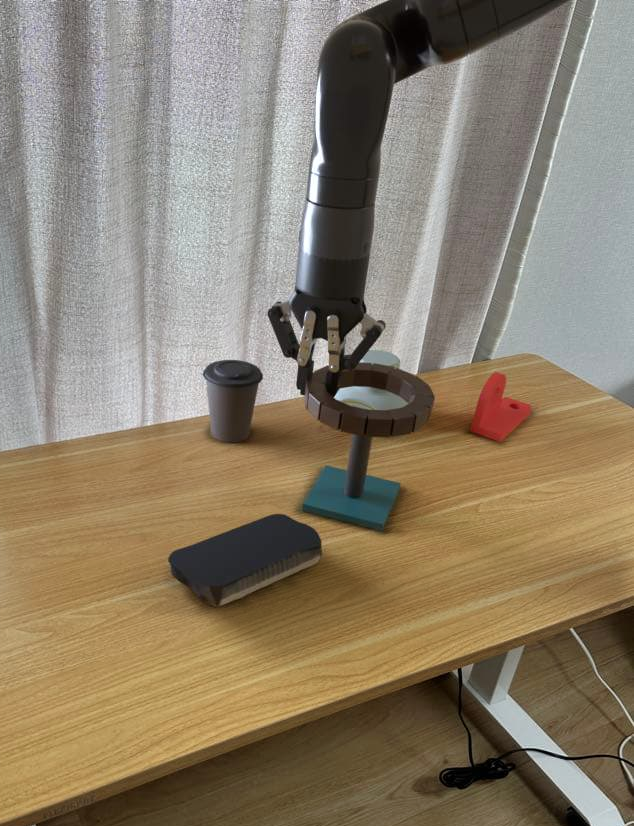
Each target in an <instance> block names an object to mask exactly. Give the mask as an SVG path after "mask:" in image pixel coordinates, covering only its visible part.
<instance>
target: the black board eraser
mask: <svg viewBox="0 0 634 826" xmlns="http://www.w3.org/2000/svg"><path fill="white" fill-rule="evenodd" d="M322 555H323V549H322V538H321V537H320V535H319V533H318V531H317V530H316V529H315V528H314V527H312V526H310V525H309V524H306V523H303V522H300V521H297V520H295V519H293V518H292V517H290V515H287V514H283V513H273V514H270V515H266V516H263V517H262V518H259V519H256V520H253V521H251V522H248V523H245V524H241V525H240V526H238V527H234V528H232V529H230V530H227V531H225V532H221V533H219V534H217V535H214V536H212V537H209V538H207V539H204V540H201V541H199V542H196V543H194V544H191V545H188V546H185V547H182V548H177V549H175V550H174V551H172V552H171V553H170V554H169V556H168V559H167V562H168V563H169V565H170V574H171V575H172V577H173V578H175V580H177V581H178V582H179V583H180V584H183V585H185V586H186V587H188V588H189V589H190V590H192V592H193V593H194V594H195V595H196V596H197V597H198V598H199V600H200V601H201V602H202V603H205V604H207V605H211V606H215V607H221V606H224V605H226V604H229V603H231V602H233V601H237V600H239V599H243V598H244V597H245V596H248V595H250V594H252V593H253V592H256V591H258V590H260V589H263V588H264V587H268V586H269V585H272V584H274V583H276V582H278V581H280V580H283V579H285V578H287V577H289V576H292V575H294V574H297V573H298V572H300V571H302V570H304V569H307V568H310V567H311V566H314V565H315V564H317V563H318V562H319V561H320V558H321V557H322Z"/></svg>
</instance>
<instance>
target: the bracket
mask: <svg viewBox="0 0 634 826" xmlns="http://www.w3.org/2000/svg"><path fill="white" fill-rule="evenodd" d="M506 385H507V376H506V374H504V373H501V372H497V371H495V372H493V373H492V374H491V375H489V376H488V378H487V380H486V381H485V383H484V385H483V387H482V388H481V391H480V394H479V396H478V399H477V402H476V406H475V412H474V415H473V419H472V423H471V427H470V430H469V432H471V433H475V434H477V435H480V436H482V437H485V438H488V439H491V440H493V441H496V442H499V443H500V442H501V441H502V440H503V439H505V438H506V437H508V435H509V434H511V432H512V431H514V430H515V429H516V428H517V427H518V426H519V425H520V424H521V423H523V422H524V421H525V420H526V419H527V418H528V417H529V416H530V414H531V411H532V408H533V407H532V406H531V405H530V404H529V403H526V402H523V401H520V400H517V399H513V398H511V397H508V396H505V397H504V393H505V390H506Z"/></svg>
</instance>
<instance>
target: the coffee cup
mask: <svg viewBox="0 0 634 826" xmlns="http://www.w3.org/2000/svg"><path fill="white" fill-rule="evenodd" d="M202 377H203V379H204V380H205V381H206V393H207V394H206V395H207V403H208V404H207V405H208V412H209V413H208V415H209V423H210V424H209V425H210V426H209V427H210V434H211V436H212V437H213V438H214V439H216V440H217V441H220V442H224V443H240V442H243V441H245V440H246V439H248V438H249V436H250V431H251V426H252V421H253V417H254V416H253V415H254V410H255V405H256V399H257V395H258V390H259V384H260V383H261V382H262V381H263V379H264V374H263V372H262V371H261V369H260V368H259V367H258V366H257V365H255V364H253V363H252V362H248V361H243V360H239V359H221V360H217V361H213V362H211V363H209V364H208V365H206V367H205V369H204V370H203V372H202Z"/></svg>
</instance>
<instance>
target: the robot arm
mask: <svg viewBox="0 0 634 826" xmlns="http://www.w3.org/2000/svg"><path fill="white" fill-rule="evenodd" d="M571 1H572V0H385V1H383V2H380V3H378V4H376V5H374V6H372V7H370V8H368V9H366V10H363V11H361V12H359V13H357V14H355V15H353V16H351V17H348V18H347V19H345V20H344V21H341V22H340V23H339V24H338V25H336V26H335V27H334V28H333V29H332V30H331V31H330V32H329V34H328V35H327V37H326V39H325V41H324V43H323V45H322V48H321V51H320V53H319V57H318V63H317V72H316V73H317V74H316V85H315V86H316V88H315V89H316V90H315V103H314V104H315V107H314V129H313V131H314V136H313V144H312V148H311V153H310V157H309V164H308V171H307V172H308V174H307V183H306V192H305V193H306V194H305V202H304V207H303V210H302V215H301V221H300V228H299V231H298V251H297V261H296V270H295V271H296V272H295V282H294V290H293V292H292V293H291V296H290V297H289V299H288V300H286V301H283V302H282V301H276V302H275V303H274V304H272V305H271V306H270V308H269V309H268V310H267V312H266V313H267V318H268V319H269V322H270V324H271V327H272V329H273V332H274V335H275V337H276V339H277V342H278V345H279V348H280V350H281V352H282V353H281V354H282V355H283V357H284V358H286V359H290V358H291V359H292V360H295V362H296V363H297V373H296V383H295V386H296V390H299V395H300V396H304V397H305V388H306V381H307V380H308V379H309V377H310V376H311V375H312V373H313V372H314V369H315V368H314V367H315V360H313V356H314V353H315V349H316V344H317V341H318V339H322V340H324V341H326V342H327V353H328V366H329V369H328V371H327V373H326V381H325V384H326V388H327V392H328V393H329V394H330V395H331V396H333V397H335V395H336V394H337V392H338V391H339V389H340V383H341V376H342V370H353V369H354V368H355V367H356V366H357V365H358V363H359V362H360V361H361V360H362V358H363V357H364V356H365V354H366V353H367V352H368V351H369V350H371V349H372V347H373V346H374V344H375V343H376V342H377V341H378V340H379V338H380V337H381V335H382V334H383V332H384V330H386V326H387V325H386V322H385V321H384V320H382V319H378V320H376V319H375V318H373V317H372V316H371V315H369V313H367V311H368V310H367V306H366V303H365V291H366V284H367V279H368V273H369V272H368V270H369V265H370V264H369V263H370V257H371V252H372V244H373V237H374V231H375V213H376V212H375V210H376V202H377V201H376V200H377V193H378V187H379V179H380V172H381V166H382V165H381V162H382V144H383V139H384V135H385V131H386V126H387V121H388V117H389V112H390V107H391V103H392V97H393V92H394V86H395V85H396V84H397V83H400V82H402V81H404V80H407V79H408V78H411V77H412V76H414V75H417V74H418V73H420V72H422V71H424V70H426V69H428V68H430V67H434V66H445V65H448V64H452V63H454V62H457V61H459V60H462V59H464V58H466V57H468V56H469V55H472V54H474V53H476V52H479V51H480V50H483V49H485V48H486V47H489V46H491V45H493V44H495V43H497V42H499V41H501V40H503V39H505V38H507V37H509V36H511V35H513V34H515V33H517V32H519V31H521V30H523V29H525V28H527V27H528V26H530V25H532V24H534V23H536V22H537V21H539V20H542V18H544V17H547V15H549V14H551V13H552V12H554V11H556V10H558V9H560V8H561V7H563V6H564V5H566V4H568V3H570V2H571ZM292 314H293V316H294V317H295V319H296V321H297V323H298V326H299V327H300V329H301V335H300V340H299V341H298V338H297V335H296V333H295V329H294V327H293V325H292V321H291V319H292ZM359 324H360V325H361V329H360V331H359V334H360V337H361V338H362V340H361V341H360V342H359V343H358V344H357V346H356V347H355V349H354V350H353V351H352V352H351V353H350V354H346V344H347V336H348V334H350V333H351V331H353V330H354V329H355V327H357V326H358V325H359Z"/></svg>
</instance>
